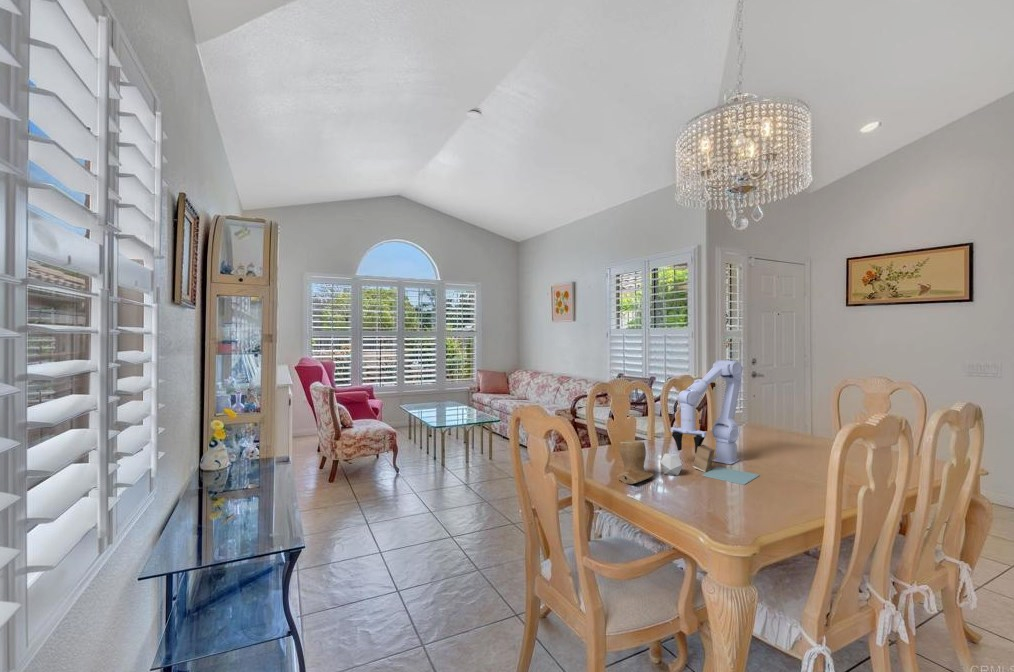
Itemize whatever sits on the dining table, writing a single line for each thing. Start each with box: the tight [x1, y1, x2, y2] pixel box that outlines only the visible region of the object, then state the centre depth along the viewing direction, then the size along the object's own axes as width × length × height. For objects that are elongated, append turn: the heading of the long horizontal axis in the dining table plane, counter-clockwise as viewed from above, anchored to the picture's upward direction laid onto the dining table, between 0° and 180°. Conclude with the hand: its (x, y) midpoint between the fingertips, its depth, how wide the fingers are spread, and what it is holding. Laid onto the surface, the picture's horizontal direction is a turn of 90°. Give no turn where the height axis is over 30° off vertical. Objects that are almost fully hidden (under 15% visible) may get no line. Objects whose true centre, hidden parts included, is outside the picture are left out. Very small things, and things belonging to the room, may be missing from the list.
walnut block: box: [692, 444, 716, 473], centre depth 191 cm, size 5×5×9 cm
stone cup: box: [616, 440, 654, 485], centre depth 180 cm, size 15×12×15 cm
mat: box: [701, 466, 760, 486], centre depth 184 cm, size 16×16×1 cm
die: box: [659, 452, 683, 476], centre depth 187 cm, size 8×9×10 cm
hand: (688, 451), depth 196 cm, fingers open, 7 cm apart
